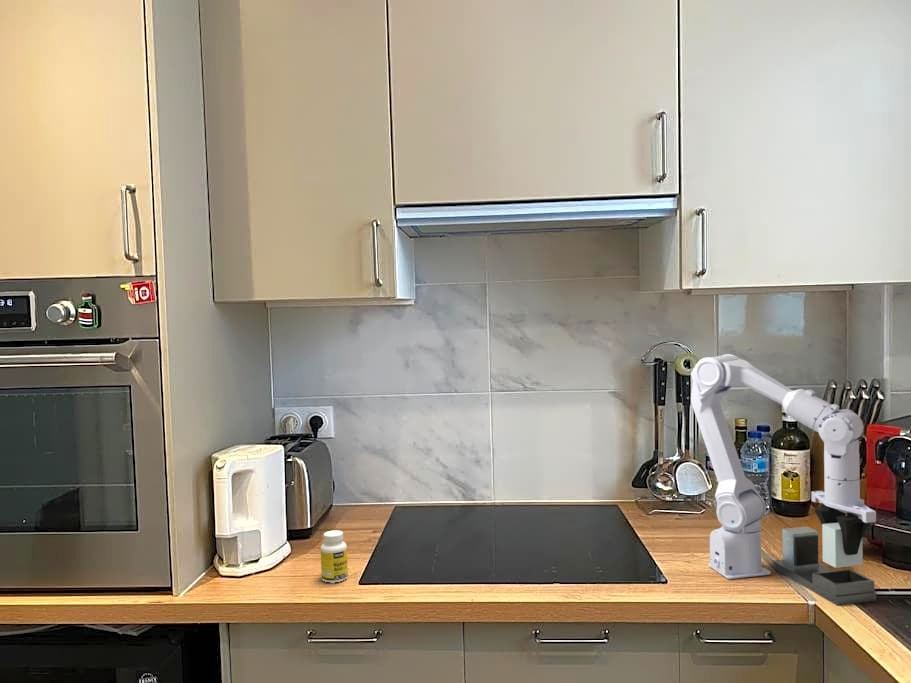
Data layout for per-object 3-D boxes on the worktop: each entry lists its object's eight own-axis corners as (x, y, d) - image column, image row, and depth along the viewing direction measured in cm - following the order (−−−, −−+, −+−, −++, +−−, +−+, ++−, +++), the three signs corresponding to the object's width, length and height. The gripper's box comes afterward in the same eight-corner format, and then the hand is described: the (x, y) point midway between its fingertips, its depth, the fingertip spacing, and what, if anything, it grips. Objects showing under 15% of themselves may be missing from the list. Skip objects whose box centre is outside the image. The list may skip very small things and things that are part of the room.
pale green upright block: (862, 564, 132) (862, 527, 132) (835, 567, 131) (835, 529, 131) (847, 557, 136) (847, 520, 135) (821, 560, 135) (820, 523, 134)
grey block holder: (836, 605, 130) (836, 558, 129) (772, 567, 148) (772, 527, 148) (876, 600, 131) (875, 554, 131) (807, 564, 150) (807, 523, 149)
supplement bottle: (335, 586, 148) (333, 538, 147) (316, 581, 151) (314, 534, 150) (353, 577, 152) (351, 531, 152) (334, 572, 155) (332, 527, 155)
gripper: (891, 484, 126) (891, 561, 127) (834, 466, 140) (834, 535, 141) (855, 488, 125) (856, 565, 126) (801, 469, 139) (802, 539, 140)
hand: (842, 550), depth 133 cm, fingers closed on pale green upright block, 4 cm apart
